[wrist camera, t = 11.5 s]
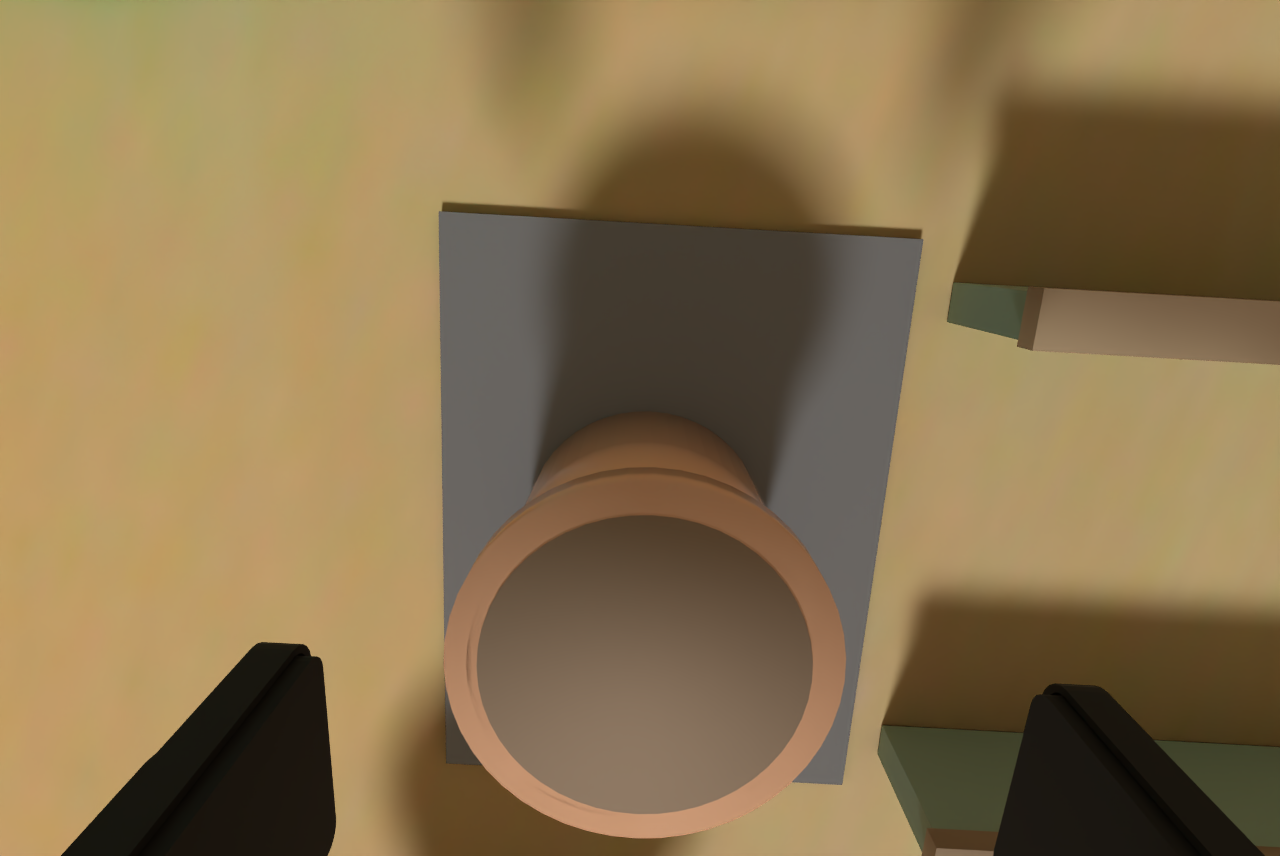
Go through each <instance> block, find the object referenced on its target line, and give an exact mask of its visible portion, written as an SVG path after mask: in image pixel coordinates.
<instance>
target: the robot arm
mask: <svg viewBox="0 0 1280 856" xmlns="http://www.w3.org/2000/svg"><path fill="white" fill-rule="evenodd" d="M335 828H336V813H335V801H334V790H333V778H332V766H331V755H330V743H329V731H328V719H327V708H326V696H325V684H324V672H323V664H322V661H321V659H320V658H319V657H313V656H311V655H310V651H309V649H308V647H307V646H305V645H304V644H287V643H267V642H261V643H257V644H256V645H255V646H254V647H252V648H251V649H250V650H249V652H248V653H247V654H246V655H245V656H244V657H243V658H242V659H241V660H240V662H239V663H238V664H237V665H236V666H235V667H234V668H233V669H232V670H231V671H230V673H229V674H228V675H227V676H226V677H225V678H224V679H223V680H222V681H221V682H220V684H219V685H218V686H217V687H216V688H215V689H214V690H213V691H212V692H211V694H210V695H209V696H208V697H207V698H206V699H205V700H204V701H203V702H202V703H201V705H200V706H199V707H198V708H197V709H196V710H195V711H194V712H193V713H192V715H191V716H190V717H189V718H188V719H187V720H186V721H185V722H184V723H183V724H182V726H181V727H180V728H179V729H178V730H177V731H176V732H175V733H174V734H173V735H172V737H171V738H170V739H169V740H168V741H167V742H166V743H165V744H164V745H163V747H162V748H161V749H160V750H159V751H158V752H157V753H156V754H155V755H154V756H152V757H151V758H150V759H149V760H148V761H147V762H146V763H145V764H144V765H143V766H142V767H141V768H140V769H139V770H138V771H137V773H136V774H135V775H134V776H133V777H132V778H131V779H130V780H129V781H128V782H127V784H126V785H125V786H124V787H123V788H122V789H121V790H120V791H119V792H118V793H117V795H116V796H115V797H114V798H113V799H112V800H111V801H110V802H109V803H108V804H107V806H106V807H105V808H104V809H103V810H102V811H101V812H100V813H99V814H98V815H97V817H96V818H95V819H94V820H93V821H92V822H91V823H90V824H89V825H88V826H87V828H86V829H85V830H84V831H83V832H82V833H81V834H80V835H79V836H78V837H77V839H76V840H75V841H74V842H73V843H72V844H71V845H70V846H69V847H68V848H67V850H66V851H65V852H64V853H63V854H62V855H61V856H327V855H328V853H329V851H330V848H331V846H332V842H333V839H334V834H335ZM993 856H1265V855H1264V854H1263V853H1262V852H1261V851H1260V850H1259V849H1258V848H1257V847H1256V846H1255V845H1254V844H1253V843H1252V842H1251V841H1250V840H1249V839H1248V838H1247V836H1246V835H1245V834H1244V833H1243V832H1242V831H1241V830H1240V829H1239V828H1238V827H1237V826H1236V825H1235V824H1234V823H1233V822H1232V821H1231V820H1230V819H1229V818H1228V817H1227V816H1226V815H1225V814H1224V813H1223V812H1222V811H1221V810H1220V808H1219V807H1218V806H1217V805H1216V804H1215V803H1214V802H1213V801H1212V800H1211V799H1210V798H1209V797H1208V796H1207V795H1206V794H1205V793H1204V792H1203V791H1202V790H1201V789H1200V788H1199V787H1198V786H1197V785H1196V784H1195V783H1194V782H1193V780H1192V779H1191V778H1190V777H1189V776H1188V775H1187V774H1186V773H1185V772H1184V771H1183V770H1182V769H1181V768H1180V767H1179V766H1178V765H1177V764H1176V763H1175V762H1174V761H1173V760H1172V759H1171V758H1170V757H1169V756H1168V755H1167V754H1166V752H1165V751H1164V750H1163V749H1162V748H1161V747H1160V746H1159V745H1158V744H1157V743H1156V742H1155V741H1154V740H1153V739H1152V738H1151V737H1150V736H1149V735H1148V734H1147V733H1146V732H1145V731H1144V730H1143V729H1142V728H1141V727H1140V726H1139V724H1138V723H1137V722H1136V721H1135V720H1134V719H1133V718H1132V717H1131V716H1130V715H1129V714H1128V713H1127V712H1126V711H1125V710H1124V709H1123V708H1122V707H1121V706H1120V705H1119V704H1118V703H1117V702H1116V701H1115V700H1114V699H1113V697H1112V696H1111V695H1110V694H1109V693H1108V692H1106V691H1105V690H1104V689H1102V688H1101V687H1097V686H1091V685H1072V684H1051V685H1049V686H1048V687H1047V688H1046V689H1045V690H1044V693H1043V694H1040V695H1036V696H1035V697H1034V698H1033V700H1032V703H1031V706H1030V710H1029V714H1028V718H1027V722H1026V725H1025V729H1024V733H1023V737H1022V741H1021V745H1020V749H1019V753H1018V757H1017V761H1016V765H1015V769H1014V773H1013V777H1012V781H1011V785H1010V789H1009V793H1008V797H1007V801H1006V804H1005V808H1004V812H1003V816H1002V820H1001V824H1000V828H999V832H998V836H997V840H996V844H995V848H994V853H993Z"/></svg>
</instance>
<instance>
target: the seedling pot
mask: <svg viewBox="0 0 1280 856" xmlns="http://www.w3.org/2000/svg"><path fill="white" fill-rule="evenodd" d="M845 668H846V651H845V640H844V632H843V628H842V624H841V620H840V616H839V612H838V609H837V606H836V604H835V602H834V599H833V597H832V594H831V592H830V589H829V587H828V585H827V584H826V582H825V580H824V578H823V576H822V574H821V572H820V571H819V569H818V567H817V565H816V564H815V562H814V560H813V559H812V557H811V555H810V553H809V552H808V550H807V548H806V547H805V546H804V544H803V543H802V542H801V541H800V539H799V538H798V537H797V536H796V534H795V533H794V532H793V531H792V529H791V528H790V527H789V526H787V525H786V524H785V523H784V522H783V521H782V520H781V519H780V518H779V517H778V516H777V515H776V514H775V513H774V512H772V511H771V510H770V509H768V508H767V507H766V506H765V505H764V503H763V501H762V499H761V496H760V494H759V492H758V490H757V488H756V486H755V484H754V481H753V479H752V477H751V475H750V473H749V472H748V470H747V468H746V466H745V465H744V463H743V461H742V460H741V459H740V458H739V456H738V455H737V454H736V453H735V451H734V450H733V449H732V448H731V447H730V446H729V445H728V444H727V443H726V442H725V441H724V440H723V439H721V438H720V437H719V436H717V435H716V434H715V433H713V432H712V431H710V430H709V429H707V428H705V427H703V426H702V425H700V424H698V423H696V422H693V421H691V420H688V419H686V418H683V417H680V416H676V415H672V414H668V413H661V412H652V411H640V412H628V413H621V414H616V415H613V416H609V417H606V418H603V419H600V420H598V421H596V422H593V423H591V424H589V425H587V426H585V427H584V428H582V429H580V430H578V431H577V432H575V433H574V434H573V435H571V436H570V437H569V438H568V439H566V440H565V441H564V442H563V443H562V444H561V445H560V446H559V447H558V448H557V449H556V450H555V451H554V452H553V453H552V455H551V456H550V457H549V459H548V460H547V461H546V463H545V464H544V466H543V468H542V469H541V471H540V473H539V475H538V477H537V479H536V481H535V483H534V485H533V488H532V490H531V492H530V494H529V496H528V498H527V500H526V503H525V505H524V506H523V507H522V508H521V509H520V510H518V511H517V512H516V513H514V514H513V515H512V516H511V517H510V518H509V519H508V520H507V521H506V522H505V523H504V524H503V525H502V526H501V527H500V528H499V529H498V530H497V531H496V532H495V533H494V534H493V535H492V537H491V538H490V540H489V541H488V542H487V544H486V545H485V546H484V548H483V549H482V550H481V552H480V553H479V555H478V557H477V559H476V561H475V563H474V564H473V566H472V568H471V570H470V572H469V574H468V576H467V577H466V579H465V581H464V583H463V585H462V587H461V589H460V590H459V592H458V594H457V597H456V600H455V603H454V605H453V608H452V611H451V614H450V616H449V621H448V626H447V631H446V636H445V645H444V673H445V683H446V689H447V693H448V697H449V701H450V705H451V709H452V712H453V714H454V717H455V719H456V722H457V724H458V727H459V729H460V731H461V733H462V735H463V736H464V738H465V740H466V742H467V743H468V745H469V747H470V749H471V750H472V752H473V753H474V754H475V756H476V757H477V758H478V760H479V761H480V762H481V763H482V765H483V766H484V767H485V769H486V770H487V771H488V772H489V773H490V774H491V775H492V776H493V777H494V778H495V779H496V780H497V781H498V782H499V783H500V784H501V785H502V786H503V787H504V788H506V789H507V790H508V791H510V792H511V793H512V794H513V795H515V796H516V797H517V798H519V799H520V800H521V801H523V802H524V803H526V804H528V805H529V806H531V807H533V808H534V809H536V810H537V811H539V812H541V813H543V814H545V815H547V816H549V817H551V818H553V819H556V820H558V821H560V822H562V823H565V824H568V825H571V826H574V827H577V828H580V829H583V830H586V831H590V832H595V833H600V834H604V835H609V836H617V837H628V838H664V837H672V836H681V835H687V834H691V833H695V832H700V831H704V830H708V829H711V828H714V827H717V826H720V825H722V824H725V823H728V822H731V821H733V820H735V819H737V818H739V817H741V816H743V815H745V814H747V813H749V812H751V811H753V810H755V809H756V808H758V807H759V806H761V805H763V804H764V803H766V802H767V801H769V800H770V799H772V798H773V797H775V796H776V795H777V794H778V793H779V792H781V791H782V790H783V789H784V788H785V787H787V786H788V785H789V784H790V783H791V782H792V781H793V780H794V779H795V778H796V777H797V776H798V775H799V774H800V773H801V772H802V771H803V770H804V769H805V768H806V766H807V765H808V764H809V763H810V761H811V760H812V758H813V757H814V756H815V754H816V753H817V751H818V750H819V749H820V747H821V746H822V744H823V742H824V740H825V738H826V736H827V734H828V733H829V731H830V729H831V727H832V725H833V722H834V719H835V716H836V714H837V711H838V708H839V705H840V702H841V697H842V692H843V687H844V682H845Z"/></svg>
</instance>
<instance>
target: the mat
mask: <svg viewBox="0 0 1280 856" xmlns="http://www.w3.org/2000/svg"><path fill="white" fill-rule="evenodd" d="M922 245H923V239H909V238H892V237H874V236H857V235H840V234H822V233H805V232H788V231H770V230H753V229H736V228H718V227H701V226H684V225H666V224H649V223H632V222H614V221H597V220H580V219H562V218H545V217H528V216H510V215H493V214H476V213H458V212H441V211H439V266H440V341H441V415H442V489H443V564H444V638H445V636H446V631H447V626H448V621H449V616H450V614H451V611H452V608H453V605H454V603H455V600H456V597H457V594H458V592H459V590H460V589H461V587H462V585H463V583H464V581H465V579H466V577H467V576H468V574H469V572H470V570H471V568H472V566H473V564H474V563H475V561H476V559H477V557H478V555H479V553H480V552H481V550H482V549H483V548H484V546H485V545H486V544H487V542H488V541H489V540H490V538H491V537H492V535H493V534H494V533H495V532H496V531H497V530H498V529H499V528H500V527H501V526H502V525H503V524H504V523H505V522H506V521H507V520H508V519H509V518H510V517H511V516H512V515H513V514H514V513H516V512H517V511H518V510H520V509H521V508H522V507H523V506H524V505H525V503H526V500H527V498H528V496H529V494H530V492H531V490H532V488H533V485H534V483H535V481H536V479H537V477H538V475H539V473H540V471H541V469H542V468H543V466H544V464H545V463H546V461H547V460H548V459H549V457H550V456H551V455H552V453H553V452H554V451H555V450H556V449H557V448H558V447H559V446H560V445H561V444H562V443H563V442H564V441H565V440H566V439H568V438H569V437H570V436H571V435H573V434H574V433H575V432H577V431H578V430H580V429H582V428H584V427H585V426H587V425H589V424H591V423H593V422H596V421H598V420H600V419H603V418H606V417H609V416H613V415H616V414H621V413H628V412H640V411H652V412H661V413H668V414H672V415H676V416H680V417H683V418H686V419H688V420H691V421H693V422H696V423H698V424H700V425H702V426H703V427H705V428H707V429H709V430H710V431H712V432H713V433H715V434H716V435H717V436H719V437H720V438H721V439H723V440H724V441H725V442H726V443H727V444H728V445H729V446H730V447H731V448H732V449H733V450H734V451H735V453H736V454H737V455H738V456H739V458H740V459H741V460H742V461H743V463H744V465H745V466H746V468H747V470H748V472H749V473H750V475H751V477H752V479H753V481H754V484H755V486H756V488H757V490H758V492H759V494H760V496H761V499H762V501H763V503H764V505H765V506H766V507H767V508H768V509H770V510H771V511H772V512H774V513H775V514H776V515H777V516H778V517H779V518H780V519H781V520H782V521H783V522H784V523H785V524H786V525H787V526H789V527H790V528H791V529H792V531H793V532H794V533H795V534H796V536H797V537H798V538H799V539H800V541H801V542H802V543H803V544H804V546H805V547H806V548H807V550H808V552H809V553H810V555H811V557H812V559H813V560H814V562H815V564H816V565H817V567H818V569H819V571H820V572H821V574H822V576H823V578H824V580H825V582H826V584H827V585H828V587H829V589H830V592H831V594H832V597H833V599H834V602H835V604H836V606H837V609H838V612H839V616H840V620H841V624H842V628H843V632H844V640H845V651H846V668H845V682H844V687H843V692H842V697H841V702H840V705H839V708H838V711H837V714H836V716H835V719H834V722H833V725H832V727H831V729H830V731H829V733H828V734H827V736H826V738H825V740H824V742H823V744H822V746H821V747H820V749H819V750H818V751H817V753H816V754H815V756H814V757H813V758H812V760H811V761H810V763H809V764H808V765H807V766H806V768H805V769H804V770H803V771H802V772H801V773H800V774H799V775H798V776H797V777H796V778H795V779H794V780H793V781H792V782H799V783H817V784H835V785H842V782H843V776H844V769H845V762H846V756H847V749H848V742H849V735H850V729H851V722H852V715H853V709H854V702H855V695H856V688H857V682H858V675H859V668H860V662H861V655H862V648H863V641H864V635H865V628H866V621H867V615H868V608H869V601H870V594H871V588H872V581H873V574H874V567H875V561H876V554H877V547H878V541H879V534H880V527H881V520H882V514H883V507H884V500H885V494H886V487H887V480H888V473H889V467H890V460H891V453H892V447H893V440H894V433H895V426H896V420H897V413H898V406H899V400H900V393H901V386H902V379H903V373H904V366H905V359H906V353H907V346H908V339H909V332H910V326H911V319H912V312H913V306H914V299H915V292H916V285H917V279H918V272H919V265H920V259H921V252H922ZM445 713H446V763H450V764H468V765H482V763H481V762H480V761H479V760H478V758H477V757H476V756H475V754H474V753H473V752H472V750H471V749H470V747H469V745H468V743H467V742H466V740H465V738H464V736H463V735H462V733H461V731H460V729H459V727H458V724H457V722H456V719H455V717H454V714H453V712H452V709H451V705H450V701H449V697H448V693H447V689H446V683H445Z"/></svg>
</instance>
